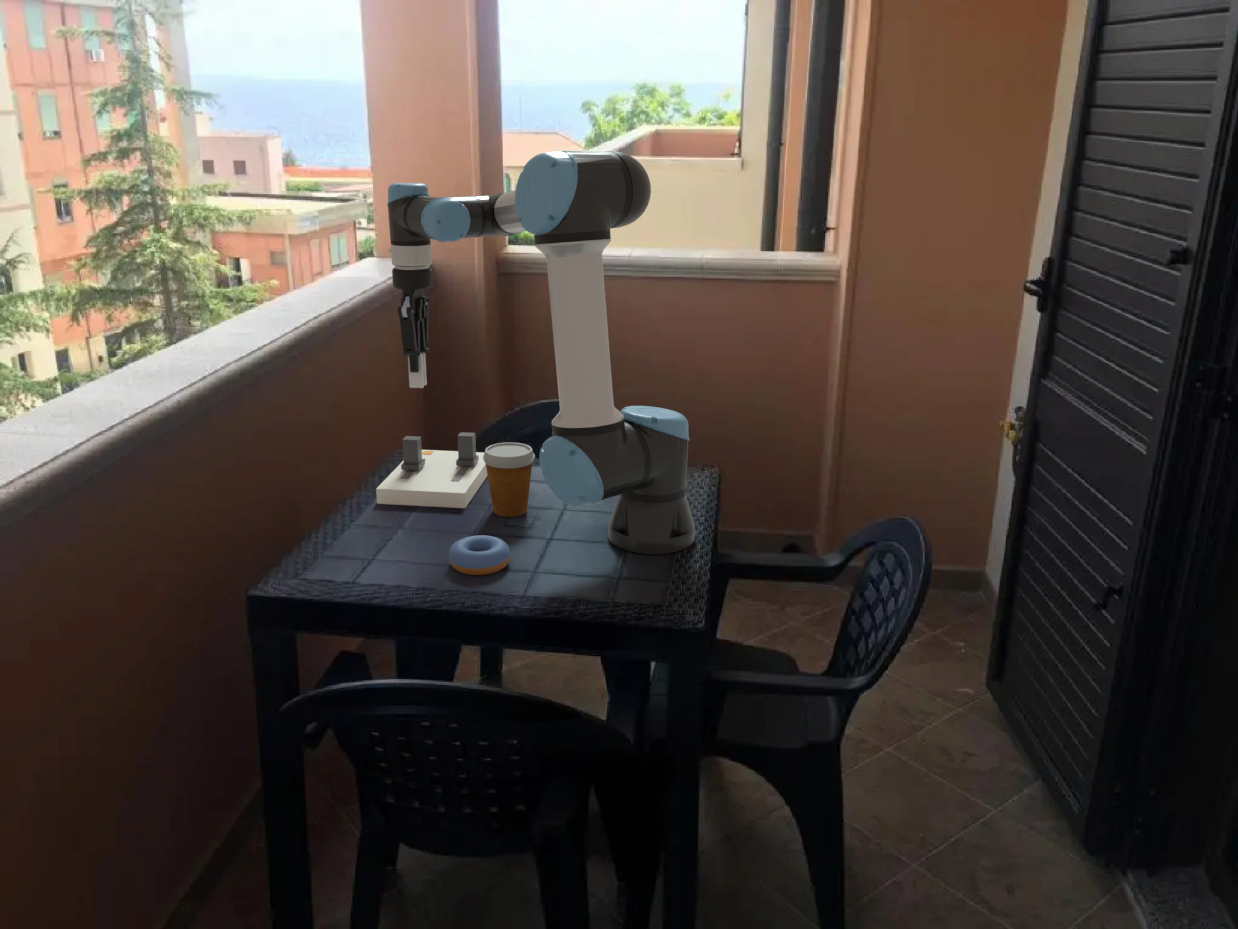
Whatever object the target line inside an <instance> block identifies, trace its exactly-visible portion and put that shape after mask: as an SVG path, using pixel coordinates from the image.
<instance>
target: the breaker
mask: <svg viewBox="0 0 1238 929" xmlns="http://www.w3.org/2000/svg"><path fill="white" fill-rule="evenodd" d="M476 439H477V438H476V432H467V431H465V432H463V431H460V432H459V433H458V435H457V451H458V459H457V460H456V466H475V464H476V463H477V462H478V460H479V456H478V455H476V452H477V448H476V447H477V446H476V441H477V440H476Z"/></svg>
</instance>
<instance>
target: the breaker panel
mask: <svg viewBox="0 0 1238 929" xmlns="http://www.w3.org/2000/svg"><path fill="white" fill-rule="evenodd" d="M484 453H485V452H483V451H482V452H479V451H476V455H478V456H479V460H478V462H477V463H476V464H475V466H456V460H457V459H458V450H441V449H440V450H439V449H436V450H435V449H422V459H425V465H424V466H423V467H422V468H421V469H420V470H419V471H418V470H401V464H402V463H403V462H404V459H403V460H402V461H401V462H400V463H399V464H398V465H397V467H396V468H395V469H393V470H392V472H390V474H388V475H387V477H386V478H385V479H384V480H383V481H381V483H380V484H379V485H378V486H377V487H376V489H375V491H376V493H375V494H376V503H377V504H378V505H397V506H398V505H399V506H401V505H402V506H414V507H415V506H419V507H436V508H451V509H452V508H455V509H467V507H468V505H469V503H470V502H471V501H472V499H473V498H474V496H475V495H476V493H477V492H478V490H479V489H480V487H481V486H482V485H483V484H484V481H485V480H486V478H488V475H487V470H486V463H485V462H484V460H483V455H484Z"/></svg>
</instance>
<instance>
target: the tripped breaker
mask: <svg viewBox="0 0 1238 929" xmlns="http://www.w3.org/2000/svg"><path fill="white" fill-rule="evenodd" d="M401 442H402V456H403V460H404V462H403V463H402V464H401V470H418V471H419V470H420V469H421V468H422V467H423V466H424V465H425V459H422V450H423V449H422V436H416V435H415V436H414V435H405V437H403V438H402V440H401Z"/></svg>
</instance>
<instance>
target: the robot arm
mask: <svg viewBox="0 0 1238 929" xmlns="http://www.w3.org/2000/svg"><path fill="white" fill-rule="evenodd" d="M651 188H652V185H651V181H650V177H649V174H648V173H647V170H646V169H645V168H644V166H643V165H642V163H641V162H640V161H638V160H637V159H636V158H635V157H633V156H631V154H627V153H625V152H621V151H618V150H617V151H615V150H614V151H613V150H607V151H591V150H590V151H587V150H558V151H550V152H549V151H548V152H542V153H538V154H536V155H534V156H533V157H531V158H530V159H529V160H528V161H527V162H526V163H525V165H524V166H523V169H522V171H521V172H520V173H519V176H518V179H517V182H516V186H515V189H514V190H510V191H505V192H501V193H497V194H490V195H489V194H488V195H468V196H467V195H463V196H442V197H441V196H438V197H437V196H430V194H429V189H428V186H427V185H426V184H425V183H422V182H420V183H419V182H395V183H391V184H390V185H389V186H388V187H387V203H386V206H387V209H388V210H387V214H388V225H389V226H388V228H389V239H390V248H389V249H388V253H389V254H390V255H391V264H392V266H394V267H393V268H392V269H391V275H392V285H393V287H394V288H395V289H398V290H401V291H402V296H401V298H400V306H398V307H397V314H398V318H399V322H400V324H399V326H400V333H401V341H402V351H403V352H402V356H407V364H408V366H407V368H408V382H409V383H408V384H409V385H408V386H409V389H410V388H411V389H424V388H425V386H427V385H428V380H427V361H426V358H427V357H426V353H430V349H431V348H430V347H429V307H430V306H429V305H430V297H429V296H425V290H426V289H430V288H432V287H433V285H434V284H433V283H434V282H433V269H432V268H431V267H430V266H431V265H432V264H433V262H432V244H431V240H434V241H438V242H441V243H446V242H449V243H453V242H458V241H460V240H461V239H472V238H482V237H483V238H484V237H499V236H501V237H509V236H513V235H518V234H521V233H523V232H528V233H530V234H532V235H533V236H534V237H533V238H534V246H535V248H536V249H537V250H538V251H540V253H542V254H543V255H544V257H545V258H546V260H545V261H546V269H547V270H546V271H547V280H548V282H547V283H548V290H549V293H548V294H549V303H550V313H551V314H550V315H551V323H552V324H551V326H552V333H553V334H552V335H553V336H552V337H553V346H554V347H553V348H554V356H555V358H554V360H555V368H556V380H557V381H556V383H557V392H558V400H559V401H558V402H559V411H558V413H557V414H556V415H555V417H553V419H552V420H551V431H552V432H551V434H552V436H550V437H549V438H547V439H546V440H545V441H544V442H543V443H542V444H541V445H542V446H541V448H540V450H539V465H540V469H541V473H542V476H543V478H544V481H545V483H546V484H547V486H548V489H550V490H551V491H552V493H553V494H554V495H555V497H557V498H558V499H559V500H561V501H562V502H563V503H564V504H567V505H570V506H573V507H574V506H576V507H578V506H579V507H580V506H584V505H588V504H597V503H599V502H600V501H605V500H607V499H610V498H613V497H616V496H617V499H616V502H615V504H614V508H613V511H612V513H611V515H610V519H609V522H608V527H607V528H608V531H607V532H608V534H607V535H608V536H607V537H608V540H609V542H610V543H611V544H613V546H615V547H617V548H619V549H622V550H625V551H626V552H627V551H628V552H630V553H636V554H641V555H643V554H645V555H666V554H671V553H676V552H680V551H683V550H684V549H687V548H689V547H690V546H692V544H693V543H694V541H695V539H696V538H695V535H696V534H695V533H696V526H695V523H694V520H693V516H692V513H691V512H692V511H691V509H690V505H689V503H688V498H687V484H688V483H687V481H688V468H689V467H688V466H689V465H688V461H689V448H690V447H689V446H690V445H689V444H690V436H689V421H688V418H686V416H685V415H684V414H682V413H680V412H678V411H676V410H673V409H668V408H663V407H656V406H650V405H649V406H648V405H629V406H628V405H627V406H625V407H623V408H622V409H621V410H618V409H617V408H616V406H615V405H614V392H613V380H612V379H613V378H612V369H611V368H612V366H611V364H612V363H611V355H610V354H611V353H610V351H611V350H610V341H609V328H608V327H609V325H608V314H607V313H608V312H607V301H606V290H605V289H606V288H605V277H604V276H605V274H604V262H603V252H604V250H605V249H606V248H607V246H608V245H609V244H610V243H611V242H612V238H611V229H616V228H617V229H619V228H623V227H625V226H628V225H631V224H632V223H635V222H636V221H637V220H638V219H639V218H641V216H643V214H644V213H645V211H646V209H647V208H648V206H649V202H650V200H651V194H652V189H651Z"/></svg>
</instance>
